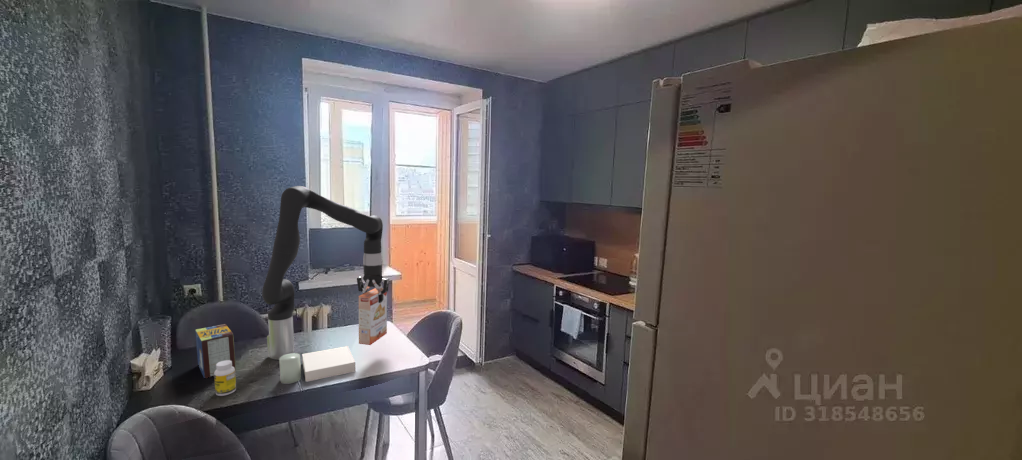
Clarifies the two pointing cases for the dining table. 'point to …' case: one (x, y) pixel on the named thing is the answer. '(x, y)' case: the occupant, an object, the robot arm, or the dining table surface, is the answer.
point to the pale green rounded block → (290, 368)
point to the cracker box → (372, 317)
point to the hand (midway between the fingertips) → (373, 301)
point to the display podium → (328, 363)
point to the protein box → (214, 348)
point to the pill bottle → (224, 378)
